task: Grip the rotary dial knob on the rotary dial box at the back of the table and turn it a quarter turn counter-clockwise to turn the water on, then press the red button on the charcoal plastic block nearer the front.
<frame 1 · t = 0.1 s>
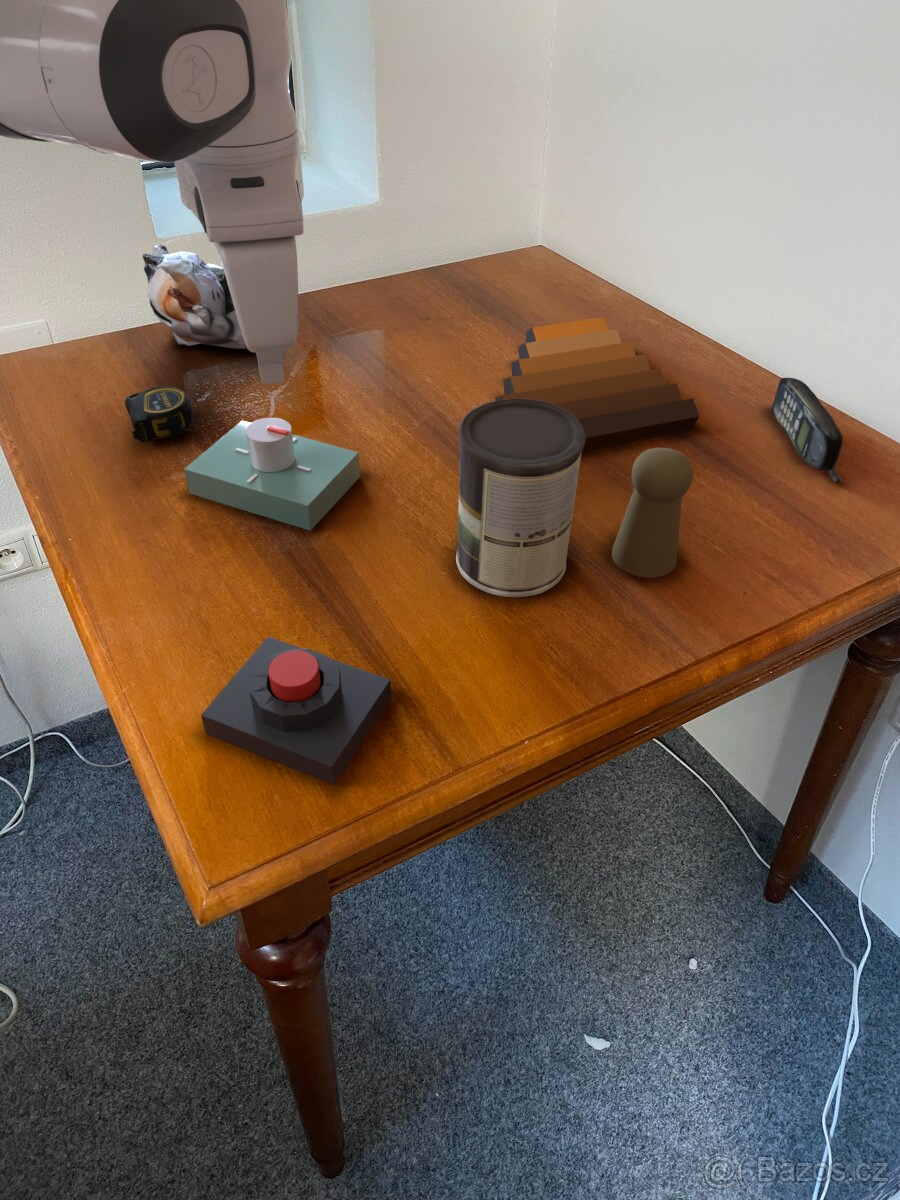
hand: (264, 351, 72), 18 cm above the table, tool pointing down, fingers open, 8 cm apart
coffee can: (510, 563, 81), on the table
pan flute: (547, 398, 103), on the table
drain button: (294, 676, 64), point 4 cm above the table, slide at 0.1 cm
mobile phone: (802, 447, 96), on the table
rotary dial box: (276, 485, 89), on the table
game pawn: (643, 558, 82), on the table
tape measure: (158, 433, 96), on the table
rotary dial knob: (270, 443, 86), point 5 cm above the table, hinge at 0.0°
lucky cat figurine: (217, 341, 112), on the table
button block: (300, 715, 67), on the table
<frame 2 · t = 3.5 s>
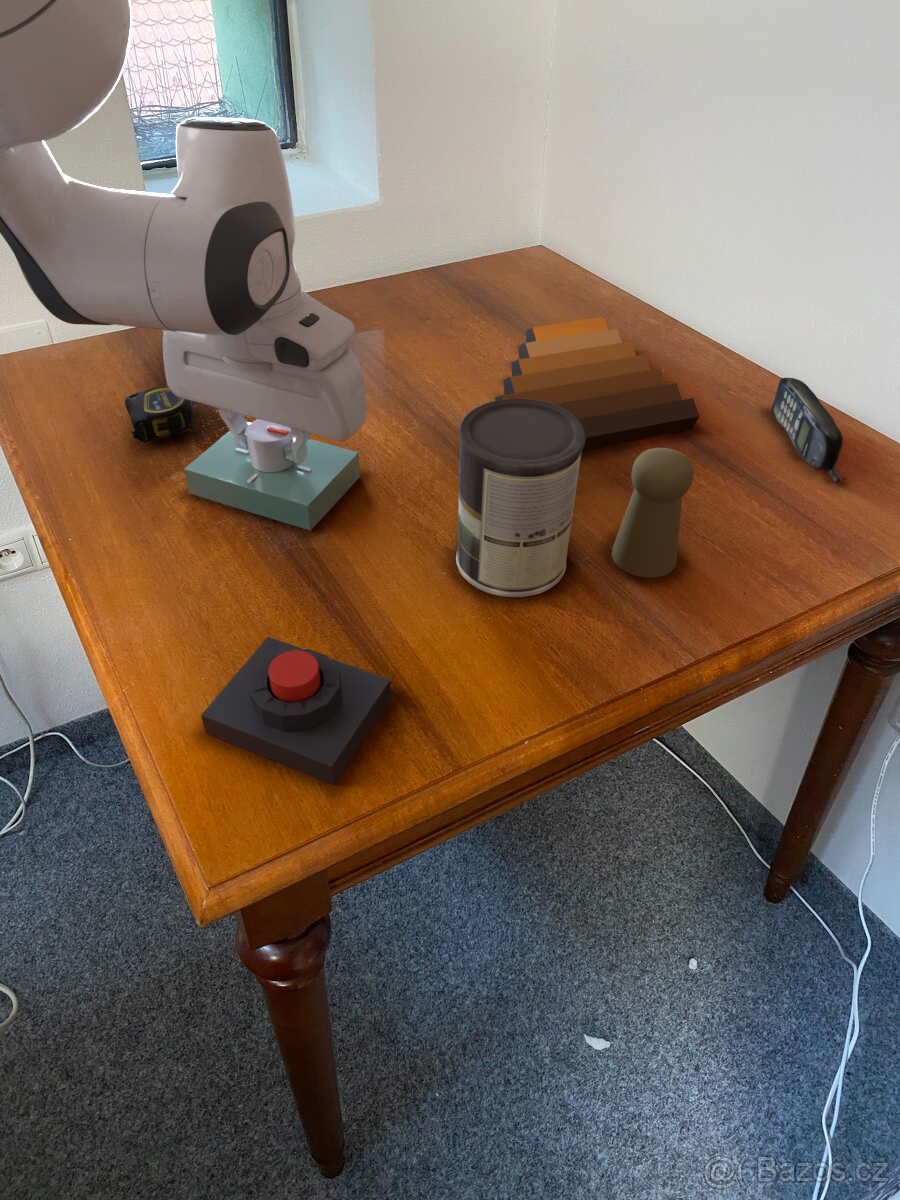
hand: (271, 452, 86), 4 cm above the table, tool pointing down, fingers closed on rotary dial knob, 4 cm apart
rotary dial knob: (270, 443, 86), point 5 cm above the table, hinge at 0.0°, touching gripper
everything else where it was.
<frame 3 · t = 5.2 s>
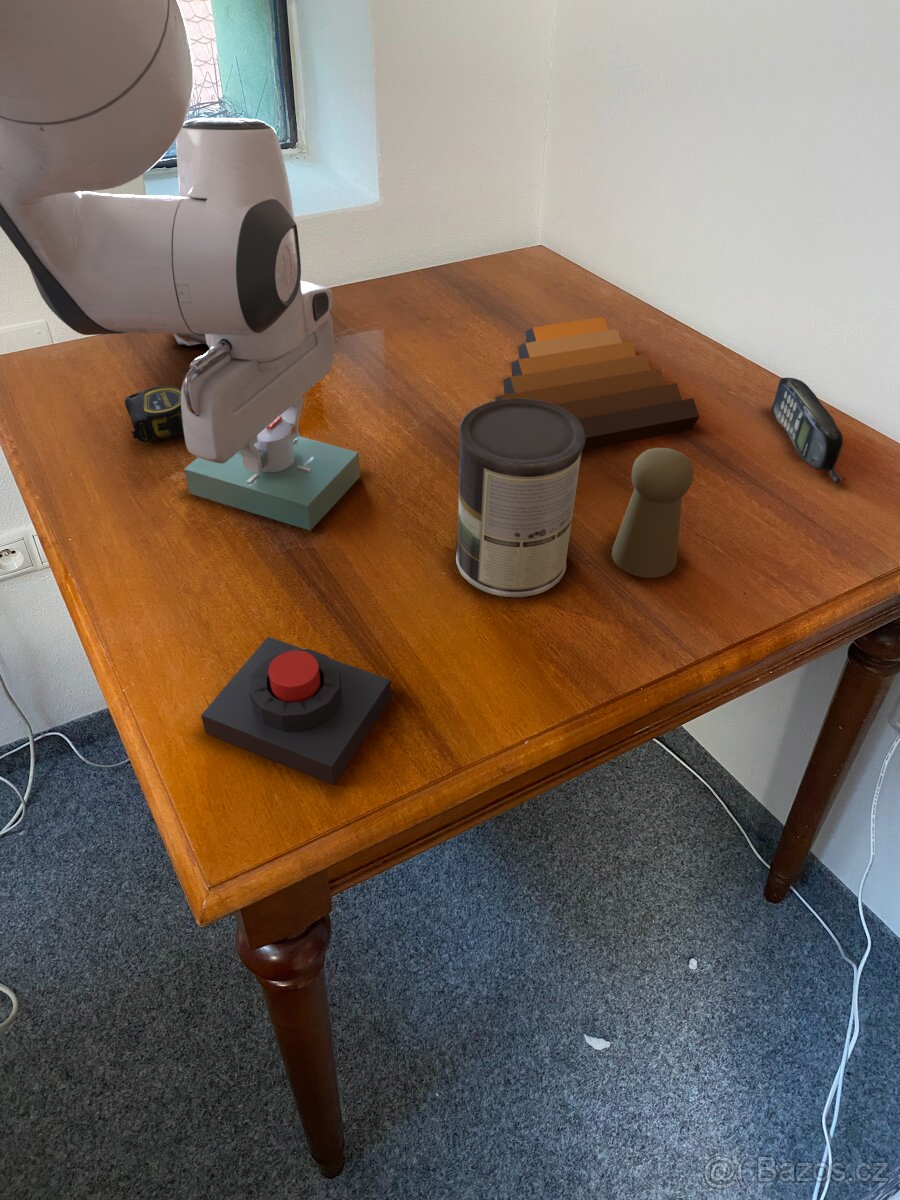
hand: (273, 452, 86), 4 cm above the table, tool pointing down, fingers closed on rotary dial knob, 4 cm apart
rotary dial knob: (270, 443, 86), point 5 cm above the table, hinge at 92.0°, touching gripper
everything else where it was.
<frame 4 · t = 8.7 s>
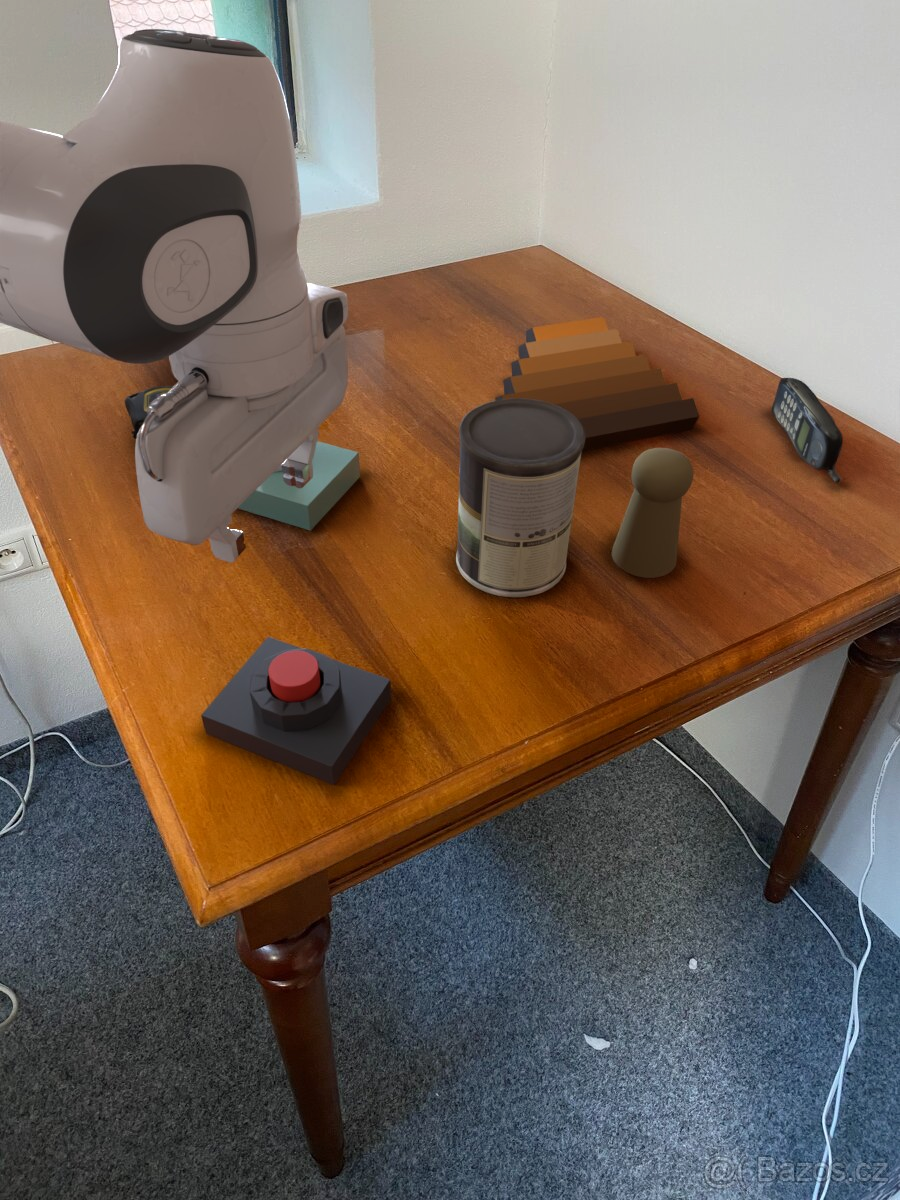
hand: (266, 516, 63), 13 cm above the table, tool pointing down, fingers open, 8 cm apart
rotary dial knob: (270, 443, 86), point 5 cm above the table, hinge at 91.7°
everything else where it was.
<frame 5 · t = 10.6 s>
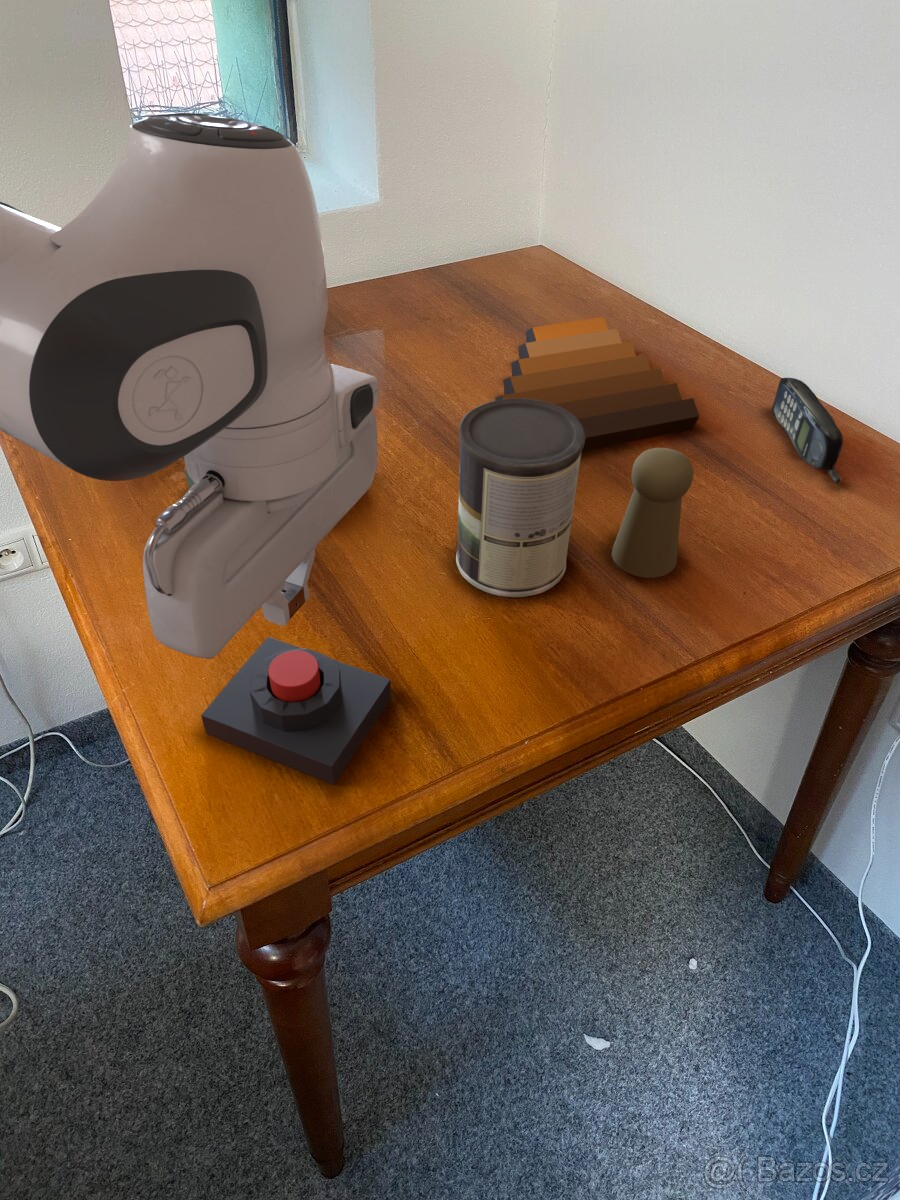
hand: (287, 610, 59), 11 cm above the table, tool pointing down, fingers closed
nothing on the table moved.
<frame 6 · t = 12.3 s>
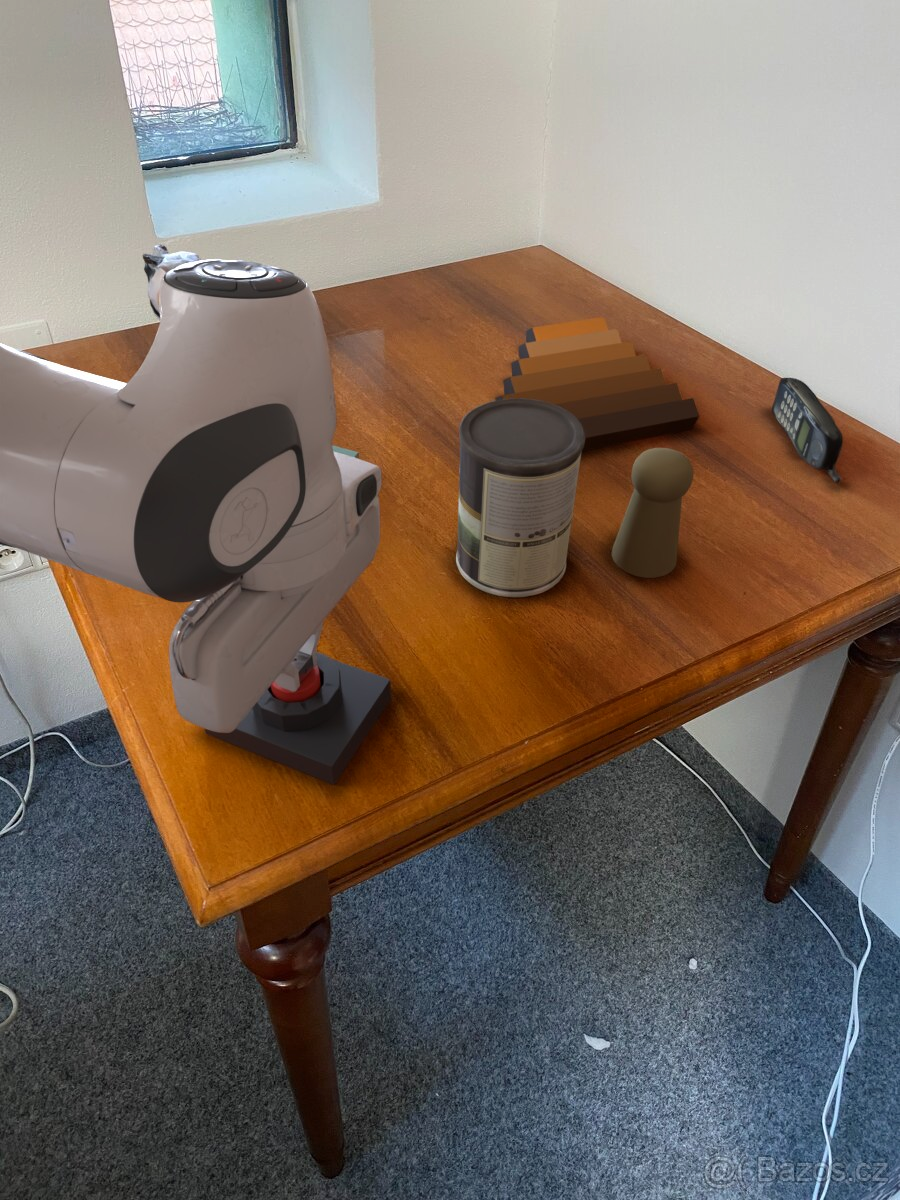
hand: (297, 676, 64), 5 cm above the table, tool pointing down, fingers closed, pressing on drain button
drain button: (295, 681, 64), point 4 cm above the table, slide at -0.5 cm, touching gripper
everything else where it was.
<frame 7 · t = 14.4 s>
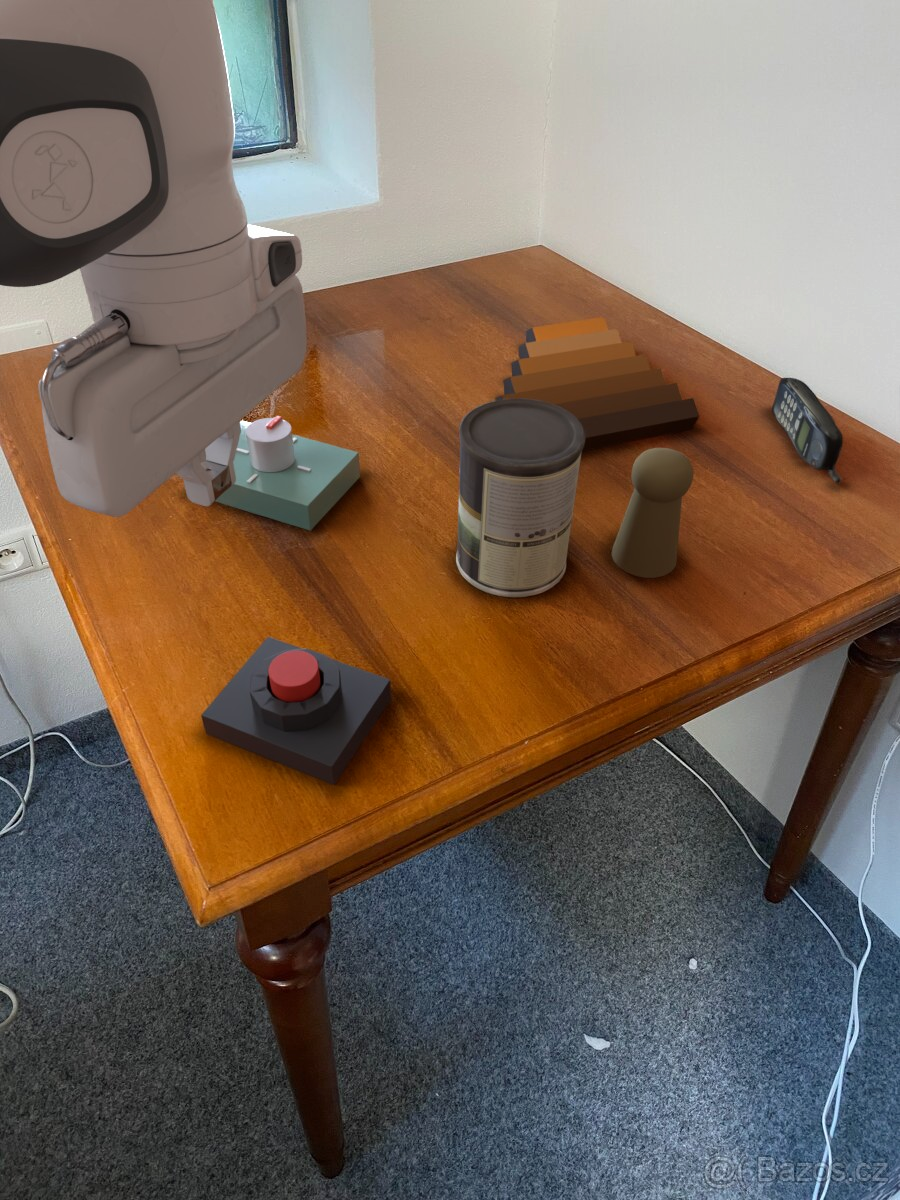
hand: (212, 493, 56), 19 cm above the table, tool pointing down, fingers closed
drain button: (294, 676, 64), point 4 cm above the table, slide at 0.1 cm
everything else where it was.
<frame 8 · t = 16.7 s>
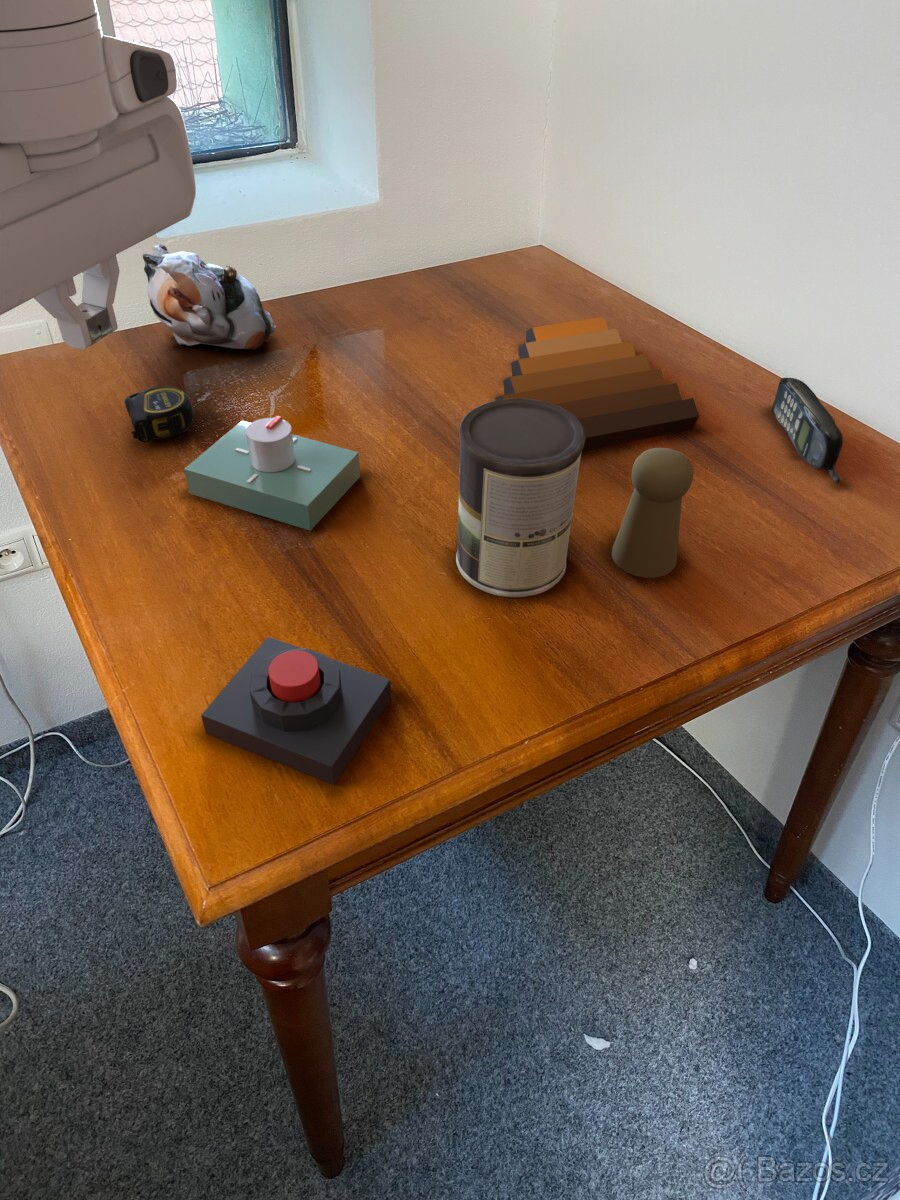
hand: (92, 338, 54), 27 cm above the table, tool pointing down, fingers closed
nothing on the table moved.
at the end: rotary dial knob at +92° (first picture: +0°); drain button pushed in 1.1 cm at the most during the clip, back to where it started at the end; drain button slide at 0.1 cm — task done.
